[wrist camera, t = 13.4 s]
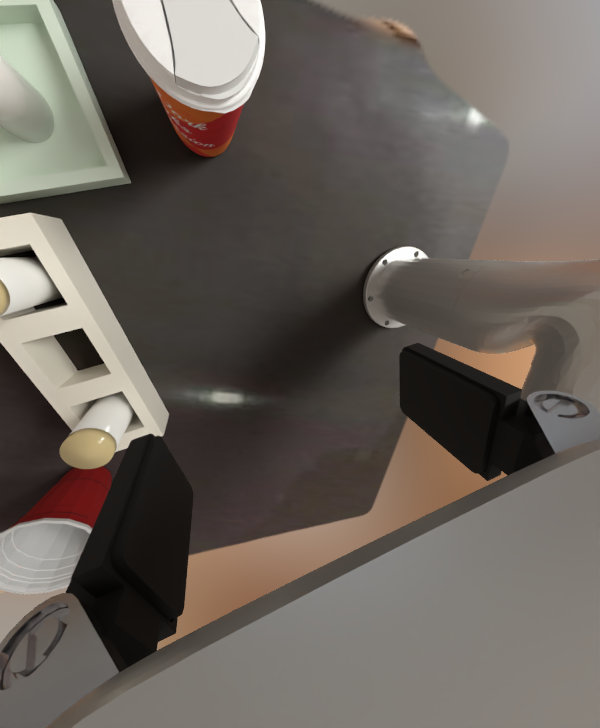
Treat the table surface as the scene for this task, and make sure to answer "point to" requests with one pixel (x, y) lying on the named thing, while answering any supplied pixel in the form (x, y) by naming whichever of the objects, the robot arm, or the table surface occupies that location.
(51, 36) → the tray
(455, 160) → the table surface
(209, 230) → the table surface
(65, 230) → the holder
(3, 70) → the white and orange cylinder
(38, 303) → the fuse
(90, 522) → the plastic cup
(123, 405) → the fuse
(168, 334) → the table surface
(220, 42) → the coffee cup
